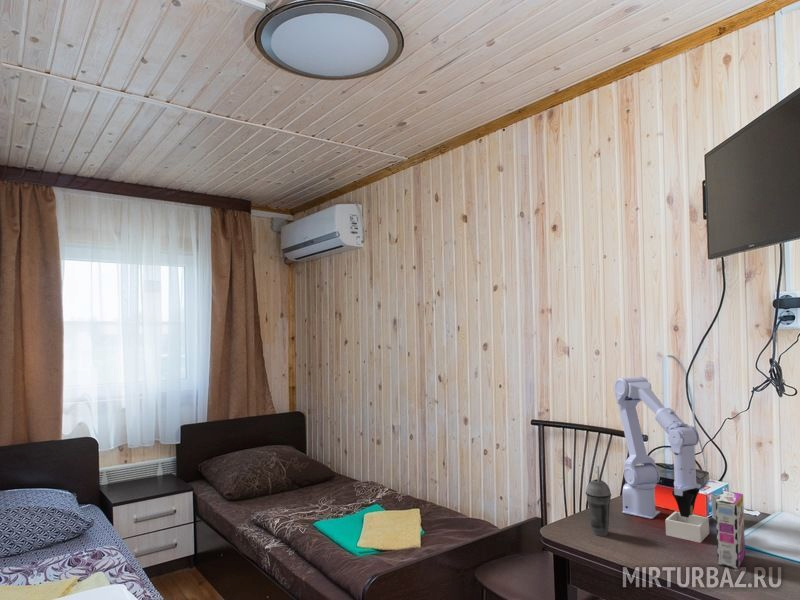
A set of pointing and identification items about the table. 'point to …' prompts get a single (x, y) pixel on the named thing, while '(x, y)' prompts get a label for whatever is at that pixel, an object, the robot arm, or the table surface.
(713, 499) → the skincare box
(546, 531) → the table surface
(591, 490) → the beverage cup
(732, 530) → the pink printed carton
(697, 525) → the white framed panel box
